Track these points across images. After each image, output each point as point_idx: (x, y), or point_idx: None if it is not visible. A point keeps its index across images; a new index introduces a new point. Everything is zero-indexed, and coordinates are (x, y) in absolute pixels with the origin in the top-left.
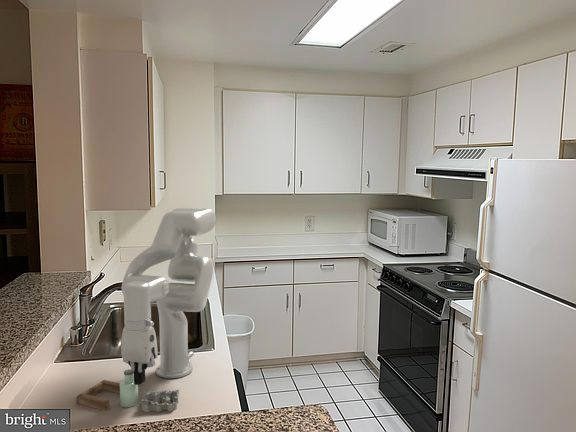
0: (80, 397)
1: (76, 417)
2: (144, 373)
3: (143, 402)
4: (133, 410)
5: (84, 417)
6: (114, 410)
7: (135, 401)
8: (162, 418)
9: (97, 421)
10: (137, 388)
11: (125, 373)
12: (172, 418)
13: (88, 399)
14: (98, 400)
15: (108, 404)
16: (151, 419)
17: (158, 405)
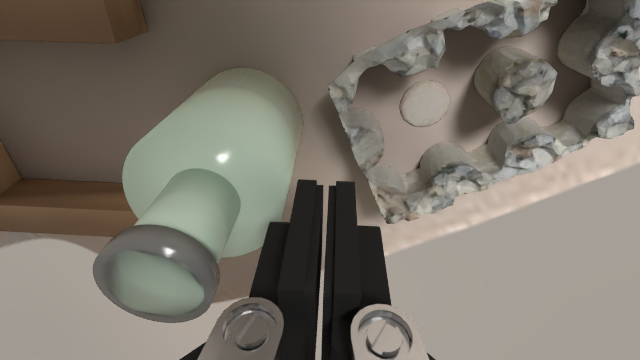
0: (10, 229)
1: None
2: (385, 290)
3: (391, 192)
4: (327, 175)
5: None
6: None
7: (299, 141)
8: (525, 196)
9: (241, 276)
10: (286, 156)
11: (167, 319)
12: (585, 182)
13: (65, 231)
14: None
15: None
16: (468, 215)
17: (493, 171)
